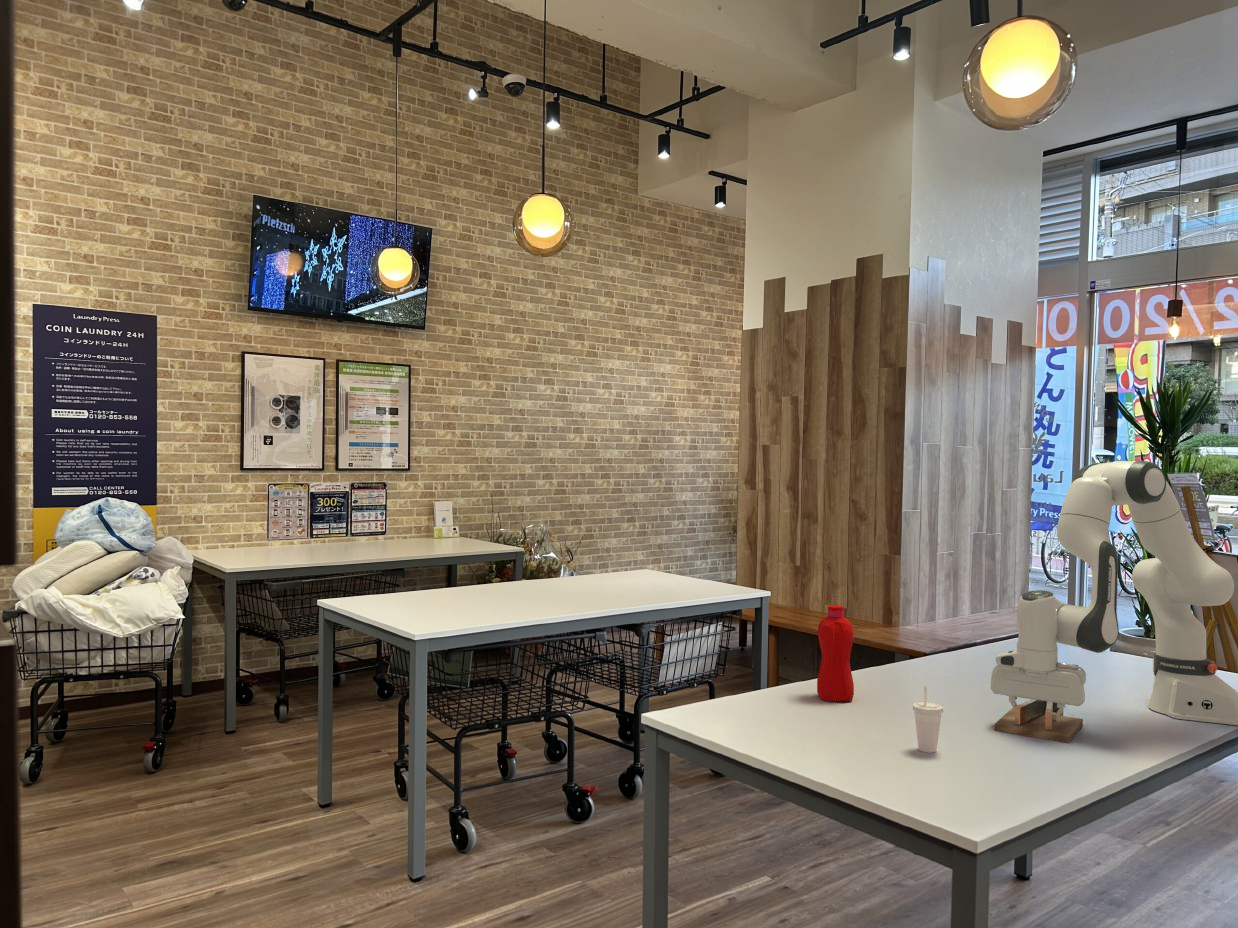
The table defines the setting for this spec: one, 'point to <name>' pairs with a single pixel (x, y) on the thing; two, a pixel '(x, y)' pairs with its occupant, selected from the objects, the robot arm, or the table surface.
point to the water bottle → (835, 656)
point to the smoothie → (927, 723)
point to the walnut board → (1041, 727)
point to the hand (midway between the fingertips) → (1036, 718)
